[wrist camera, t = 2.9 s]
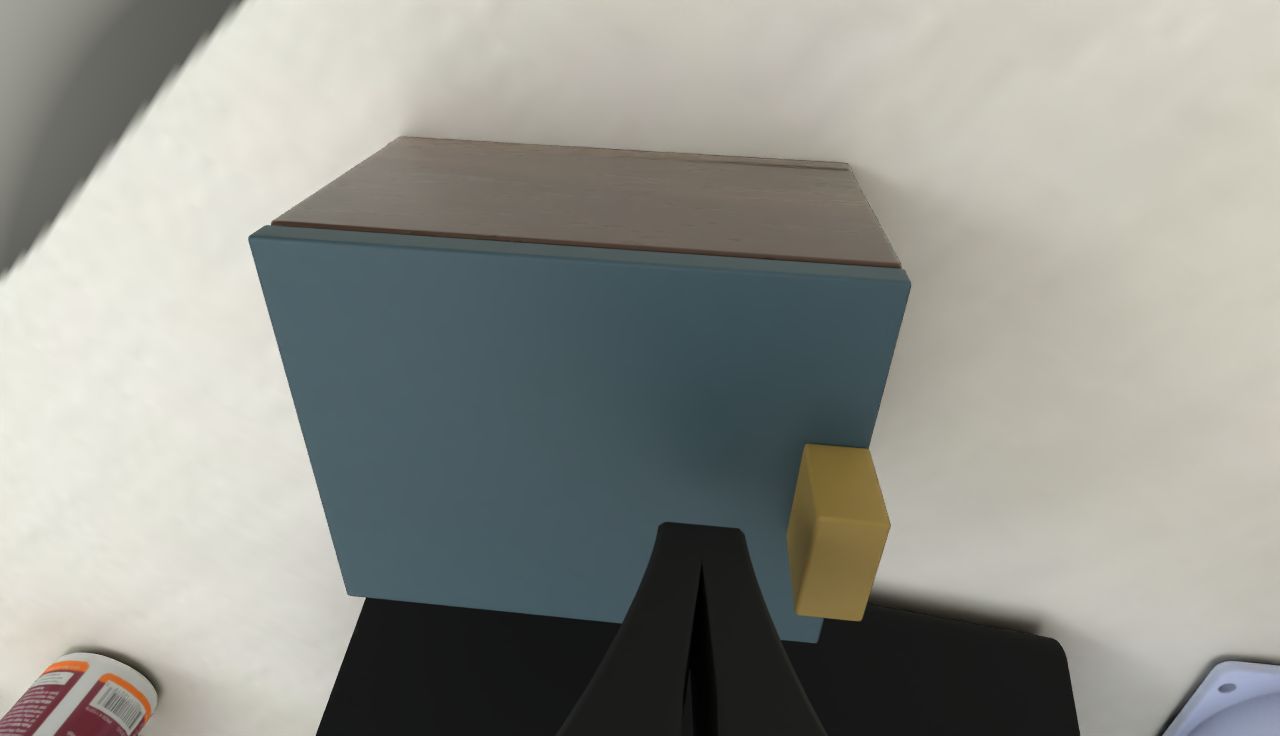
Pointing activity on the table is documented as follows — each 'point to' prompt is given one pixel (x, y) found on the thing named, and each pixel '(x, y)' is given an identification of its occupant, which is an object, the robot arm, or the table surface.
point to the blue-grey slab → (583, 416)
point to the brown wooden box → (605, 201)
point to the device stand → (574, 648)
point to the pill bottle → (83, 700)
